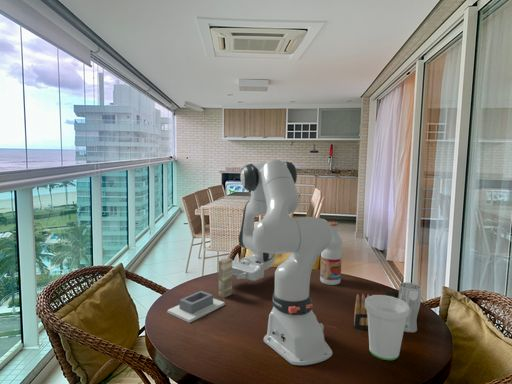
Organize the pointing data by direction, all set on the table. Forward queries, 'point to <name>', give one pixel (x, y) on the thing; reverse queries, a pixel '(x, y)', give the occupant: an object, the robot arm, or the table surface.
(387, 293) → the dark grey rounded lump
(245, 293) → the table surface
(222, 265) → the slat
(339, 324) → the table surface
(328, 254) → the fruit juice
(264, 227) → the robot arm
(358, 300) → the ammunition clip
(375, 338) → the cup
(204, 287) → the table surface
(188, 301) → the stand
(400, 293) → the beer glass
